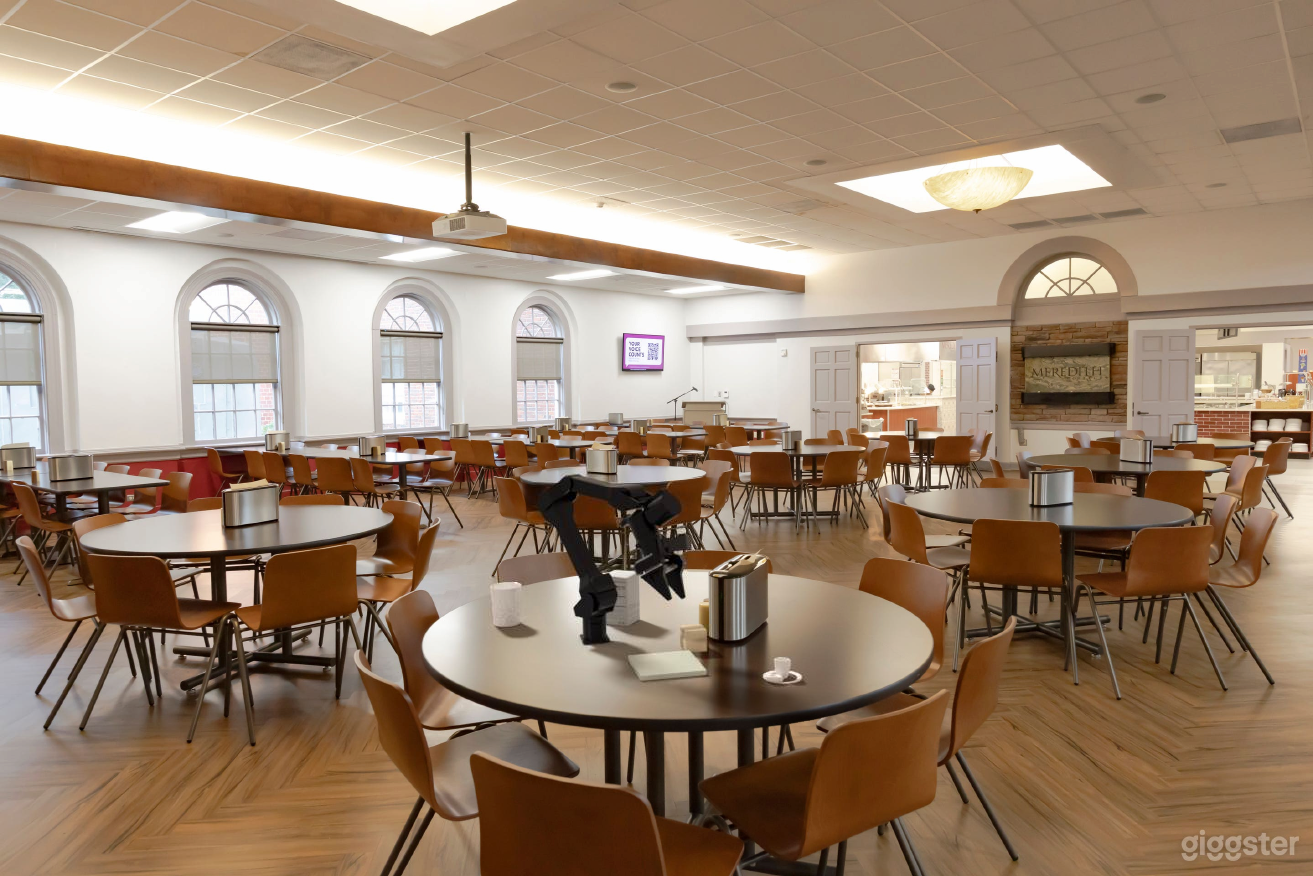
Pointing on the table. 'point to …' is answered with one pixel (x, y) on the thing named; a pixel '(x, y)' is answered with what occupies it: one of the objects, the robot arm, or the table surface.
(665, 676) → the sage board
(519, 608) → the white cup
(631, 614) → the supplement box
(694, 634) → the maple cube
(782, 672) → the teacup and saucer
